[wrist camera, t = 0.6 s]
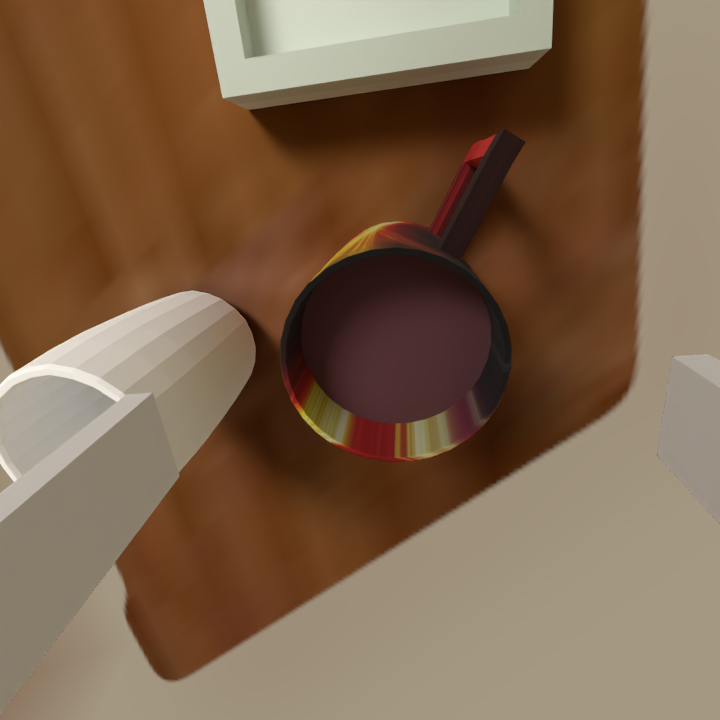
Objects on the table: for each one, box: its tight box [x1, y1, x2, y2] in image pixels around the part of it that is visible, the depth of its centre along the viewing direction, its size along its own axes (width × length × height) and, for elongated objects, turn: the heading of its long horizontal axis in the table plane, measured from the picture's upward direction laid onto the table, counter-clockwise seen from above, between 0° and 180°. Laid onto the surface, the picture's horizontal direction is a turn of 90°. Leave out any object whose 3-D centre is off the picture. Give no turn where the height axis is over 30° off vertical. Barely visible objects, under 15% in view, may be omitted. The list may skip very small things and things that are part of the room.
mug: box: [280, 129, 525, 462], centre depth 23 cm, size 10×14×12 cm
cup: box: [0, 291, 256, 482], centre depth 25 cm, size 8×8×14 cm
